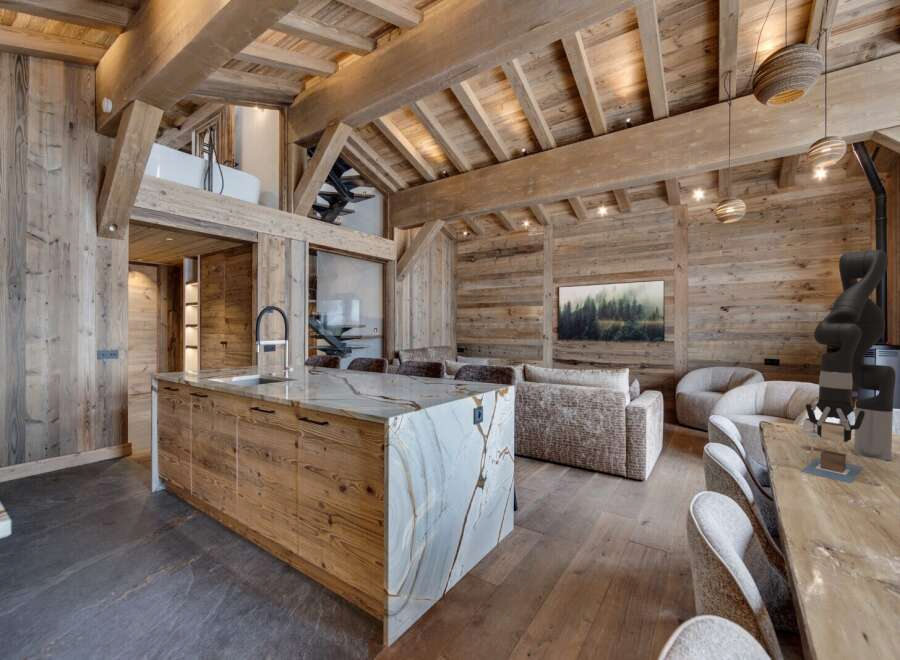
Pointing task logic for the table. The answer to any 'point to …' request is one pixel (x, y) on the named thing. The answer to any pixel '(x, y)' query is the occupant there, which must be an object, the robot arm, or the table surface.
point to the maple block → (833, 432)
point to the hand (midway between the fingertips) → (833, 439)
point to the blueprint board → (845, 476)
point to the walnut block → (833, 461)
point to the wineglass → (810, 430)
